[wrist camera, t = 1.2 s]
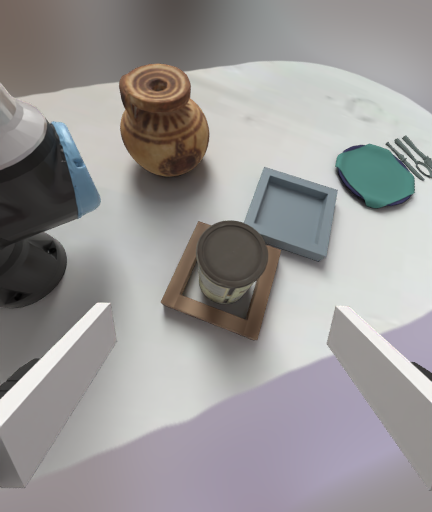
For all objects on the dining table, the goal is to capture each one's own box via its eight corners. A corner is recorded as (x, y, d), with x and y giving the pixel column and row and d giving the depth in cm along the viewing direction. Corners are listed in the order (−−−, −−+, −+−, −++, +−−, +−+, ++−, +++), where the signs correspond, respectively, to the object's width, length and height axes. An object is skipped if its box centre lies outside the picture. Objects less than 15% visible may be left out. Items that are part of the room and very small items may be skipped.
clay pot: (193, 111, 56) (202, 33, 37) (211, 179, 57) (230, 138, 37) (121, 122, 53) (87, 42, 33) (141, 194, 54) (120, 157, 34)
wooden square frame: (163, 305, 40) (160, 302, 37) (198, 228, 46) (198, 221, 44) (253, 340, 38) (257, 340, 36) (276, 255, 45) (281, 250, 42)
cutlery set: (319, 161, 56) (323, 154, 54) (398, 135, 63) (405, 128, 61) (366, 220, 50) (373, 215, 48) (448, 184, 57) (458, 178, 55)
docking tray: (239, 234, 46) (242, 227, 44) (261, 175, 53) (264, 166, 50) (318, 261, 45) (326, 256, 42) (330, 198, 52) (337, 190, 49)
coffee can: (214, 247, 45) (219, 208, 32) (257, 271, 43) (280, 241, 30) (188, 287, 41) (181, 262, 28) (233, 314, 40) (247, 302, 27)
